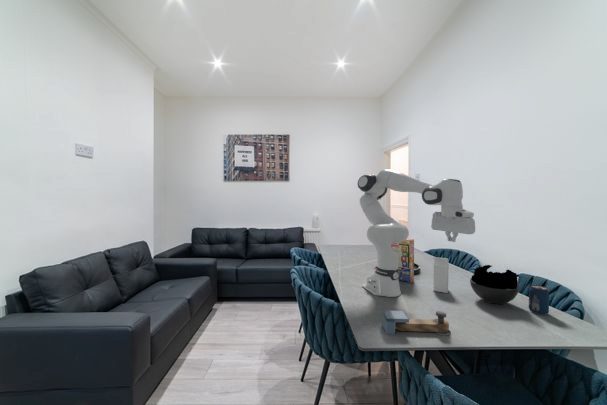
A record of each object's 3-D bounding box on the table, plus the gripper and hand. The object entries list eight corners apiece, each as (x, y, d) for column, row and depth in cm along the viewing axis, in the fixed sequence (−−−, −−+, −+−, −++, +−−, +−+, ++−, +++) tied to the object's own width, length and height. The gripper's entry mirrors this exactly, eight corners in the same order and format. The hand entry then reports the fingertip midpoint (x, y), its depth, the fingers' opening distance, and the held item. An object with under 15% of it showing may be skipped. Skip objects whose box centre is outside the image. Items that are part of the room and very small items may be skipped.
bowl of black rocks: (461, 294, 140) (462, 260, 139) (498, 294, 139) (499, 261, 139) (486, 310, 120) (487, 271, 119) (529, 311, 119) (530, 271, 119)
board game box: (414, 280, 162) (414, 239, 162) (410, 283, 158) (411, 240, 157) (384, 274, 176) (384, 235, 176) (380, 276, 172) (380, 236, 171)
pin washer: (427, 328, 103) (427, 328, 103) (438, 324, 106) (438, 324, 106) (443, 337, 97) (443, 336, 97) (454, 332, 100) (454, 332, 100)
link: (444, 326, 104) (444, 310, 104) (451, 333, 99) (451, 316, 99) (393, 324, 106) (393, 309, 105) (397, 331, 100) (397, 315, 100)
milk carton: (447, 293, 141) (448, 259, 141) (433, 290, 145) (433, 258, 144) (448, 289, 147) (448, 257, 147) (434, 287, 151) (434, 255, 151)
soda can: (546, 311, 119) (546, 286, 119) (551, 317, 113) (551, 290, 113) (526, 308, 123) (527, 283, 122) (530, 313, 117) (531, 288, 116)
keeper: (387, 334, 99) (387, 318, 99) (382, 325, 106) (382, 310, 106) (408, 334, 99) (409, 319, 99) (402, 325, 106) (402, 310, 106)
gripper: (428, 211, 128) (428, 238, 128) (468, 213, 109) (468, 245, 110) (437, 211, 131) (437, 237, 131) (477, 213, 112) (477, 244, 112)
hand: (451, 241), depth 120 cm, fingers closed
